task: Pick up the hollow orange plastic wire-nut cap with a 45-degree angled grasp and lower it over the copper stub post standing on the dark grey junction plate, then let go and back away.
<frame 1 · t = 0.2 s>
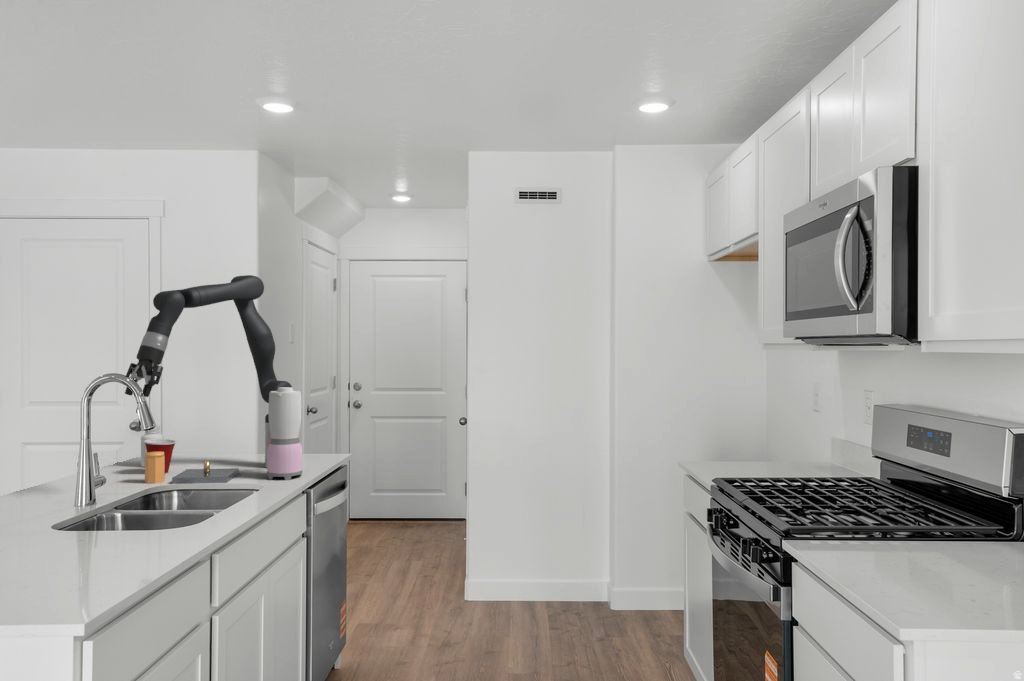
hand: (136, 395, 229), 31 cm above the worktop, tool tilted 20°, fingers open, 8 cm apart
plastic cup: (160, 473, 262), on the worktop
pill bottle: (152, 466, 276), on the worktop
blender: (286, 476, 258), on the worktop
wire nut: (154, 481, 246), on the worktop
junction plate: (206, 478, 252), on the worktop
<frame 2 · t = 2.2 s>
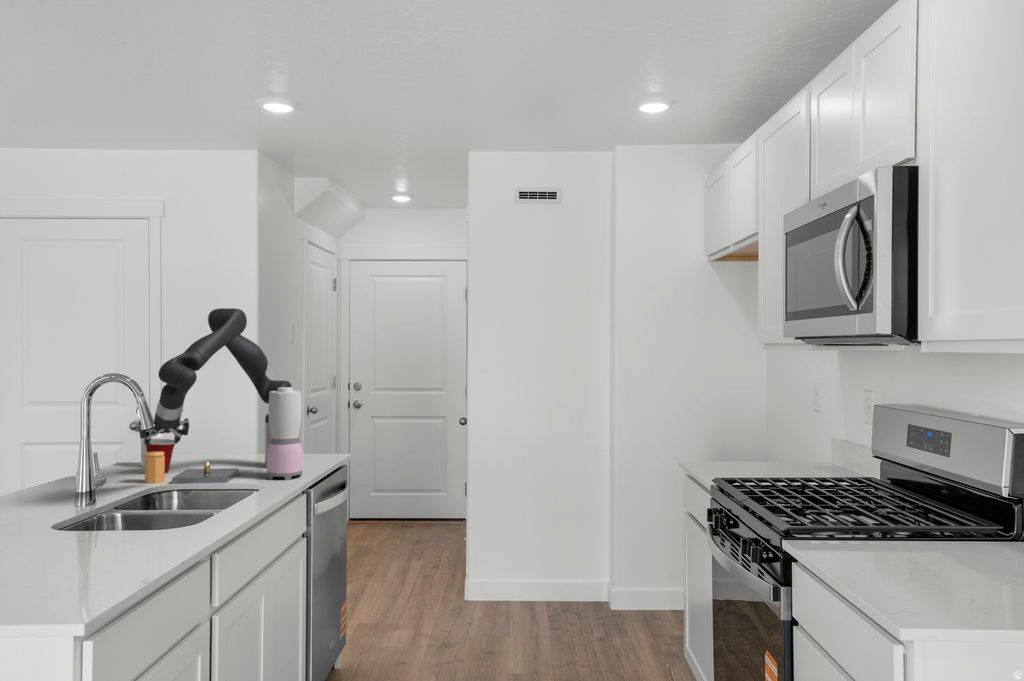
hand: (161, 442, 237), 15 cm above the worktop, tool tilted 45°, fingers open, 8 cm apart
nothing on the worktop moved.
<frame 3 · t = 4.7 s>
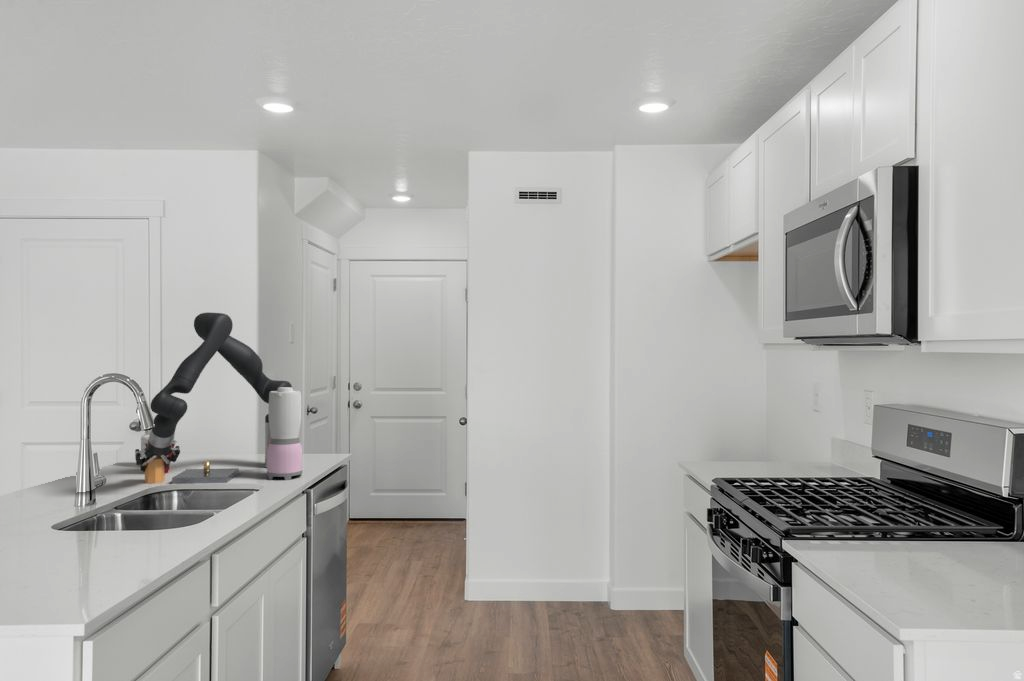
hand: (153, 468, 247), 4 cm above the worktop, tool tilted 45°, fingers closed on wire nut, 6 cm apart
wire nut: (154, 481, 246), on the worktop, touching gripper
everything else where it was.
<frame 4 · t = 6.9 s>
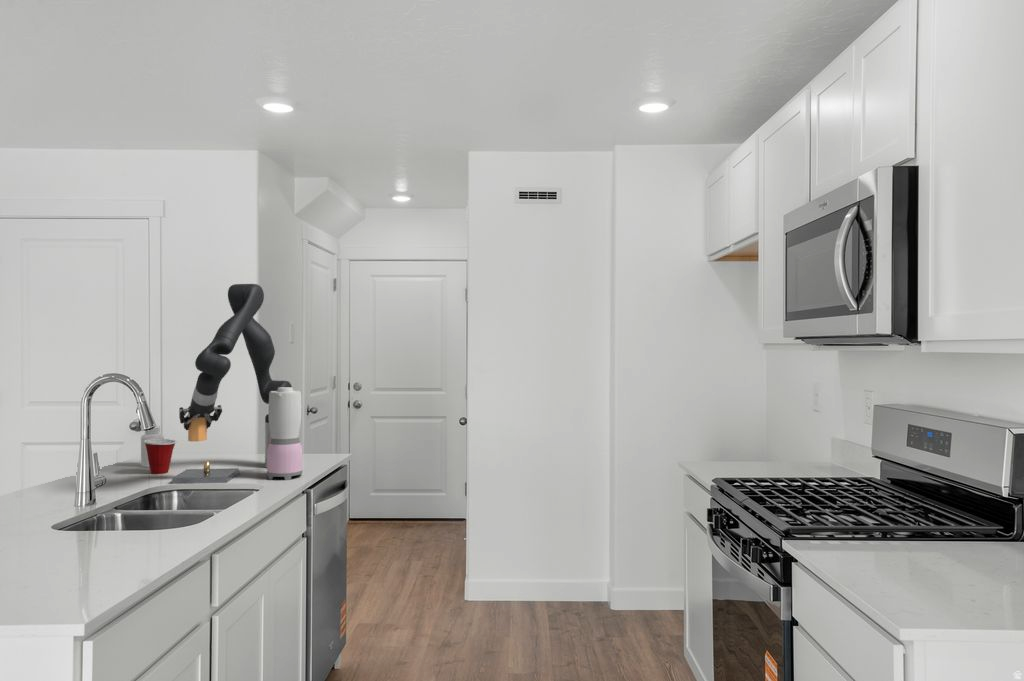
hand: (196, 427, 253), 18 cm above the worktop, tool tilted 45°, fingers closed on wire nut, 6 cm apart
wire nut: (197, 440, 251), point 14 cm above the worktop, touching gripper
everything else where it was.
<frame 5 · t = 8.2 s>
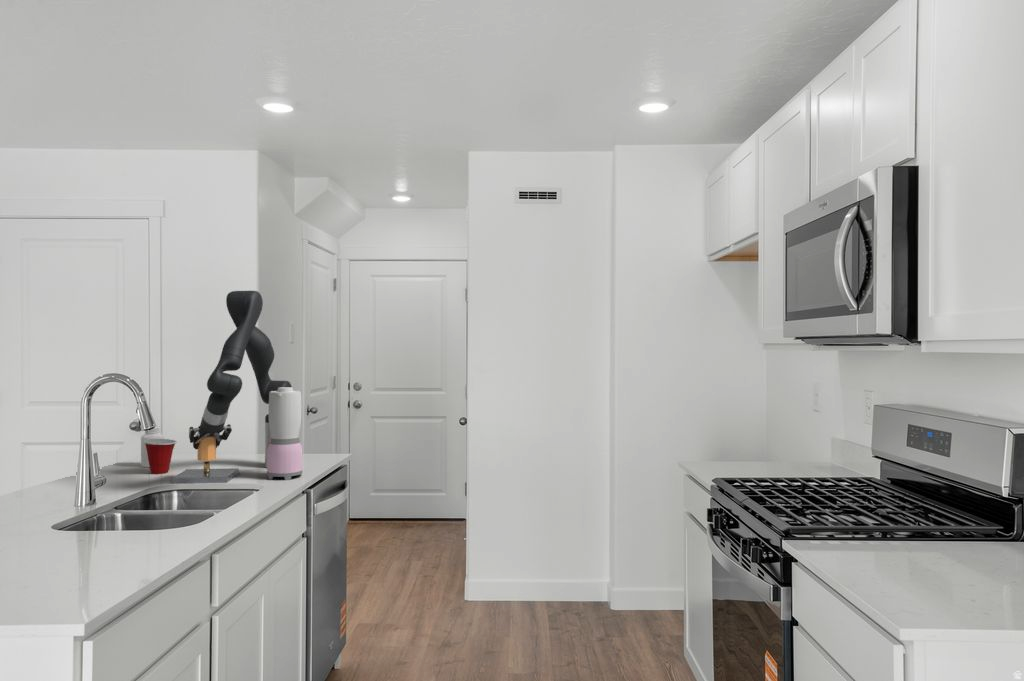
hand: (205, 446, 253), 11 cm above the worktop, tool tilted 45°, fingers closed on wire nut, 6 cm apart
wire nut: (206, 459, 252), point 7 cm above the worktop, touching gripper
everything else where it was.
when the fingers open (8 cm above the worktop, at t = 9.4 s): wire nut drops 1 cm, resting on junction plate.
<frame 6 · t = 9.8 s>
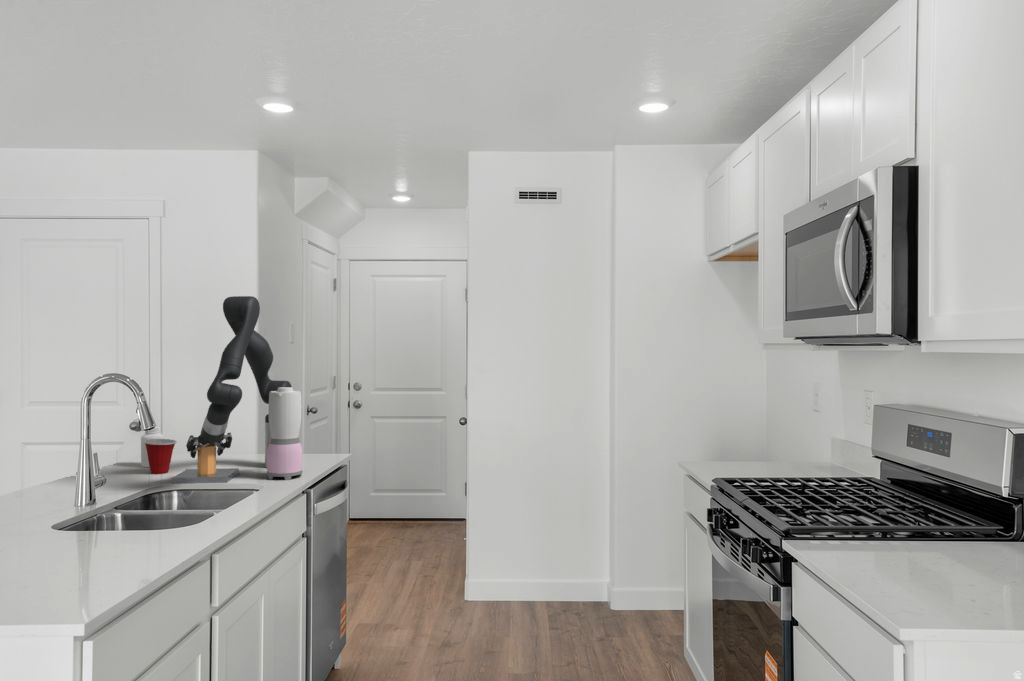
hand: (205, 454, 253), 8 cm above the worktop, tool tilted 45°, fingers open, 8 cm apart
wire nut: (206, 472, 252), point 2 cm above the worktop, touching junction plate
everything else where it was.
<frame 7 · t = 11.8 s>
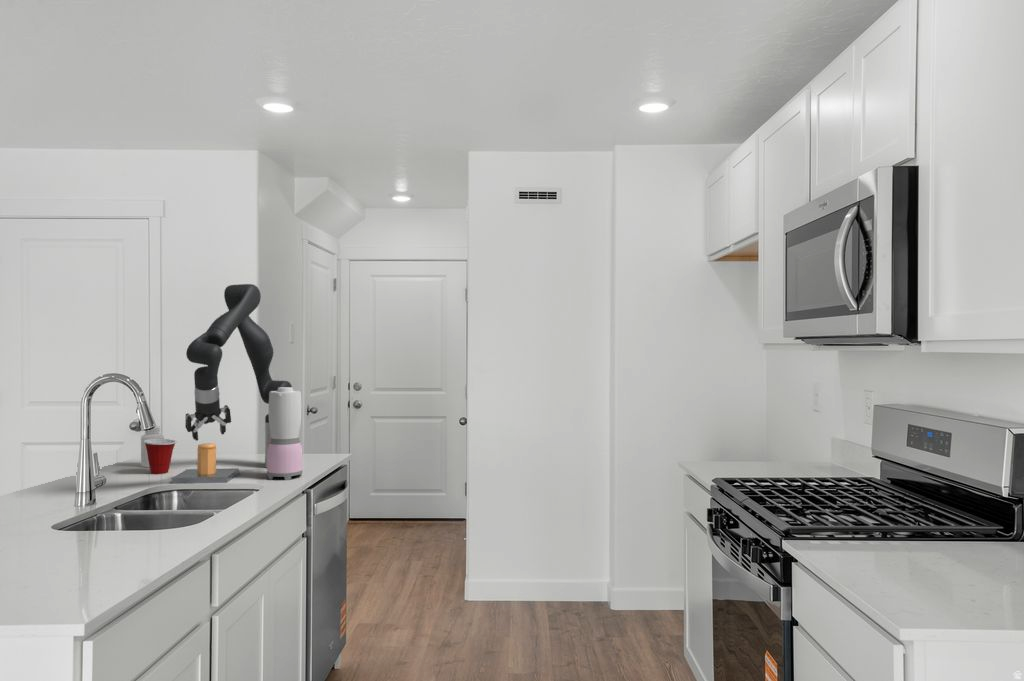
hand: (209, 436, 245), 16 cm above the worktop, tool tilted 30°, fingers open, 8 cm apart
nothing on the worktop moved.
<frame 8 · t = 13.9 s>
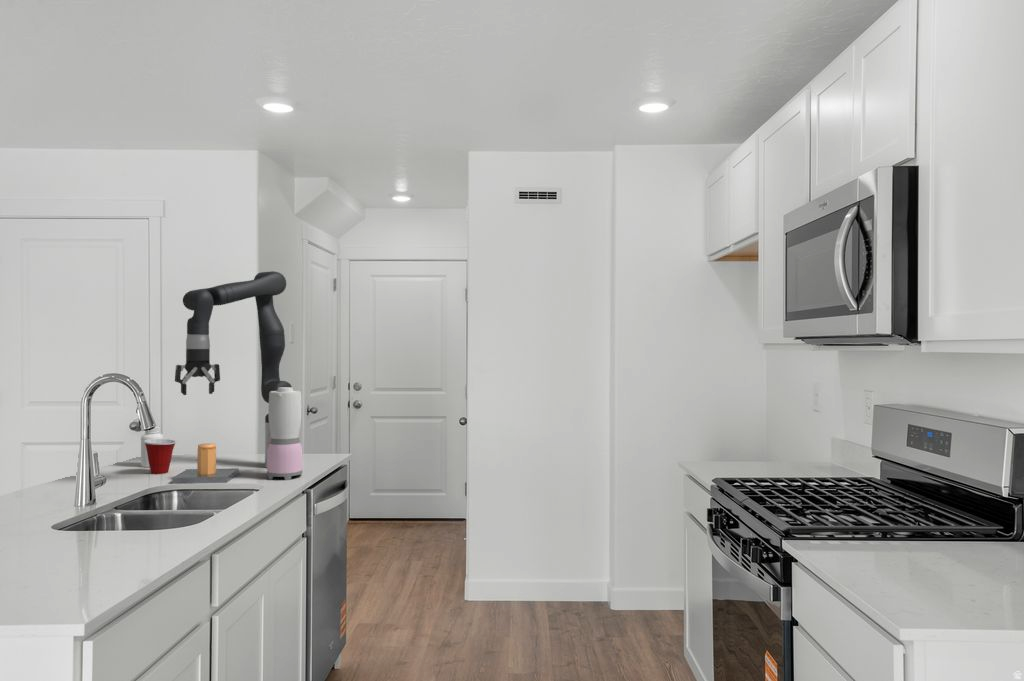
hand: (197, 394, 248), 30 cm above the worktop, tool pointing down, fingers open, 8 cm apart
nothing on the worktop moved.
at the end: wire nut 0.1 cm from the junction plate (horizontally); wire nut point 2.0 cm above the worktop; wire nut tilted 0° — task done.
